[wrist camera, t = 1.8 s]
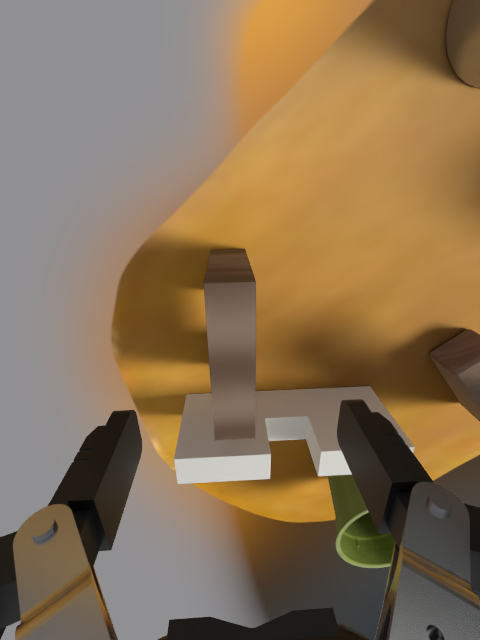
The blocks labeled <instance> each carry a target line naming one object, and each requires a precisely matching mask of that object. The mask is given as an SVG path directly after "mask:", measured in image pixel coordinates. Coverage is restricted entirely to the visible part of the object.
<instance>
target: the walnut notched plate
mask: <svg viewBox="0 0 480 640" xmlns="http://www.w3.org/2000/svg"><path fill="white" fill-rule="evenodd" d="M204 296H205V310H206V324H207V338H208V352H209V366H210V380H211V394H212V408H213V422H214V436H215V440H232V439H252V438H255V387H256V281H255V278H254V275H253V272H252V269H251V266H250V263H249V260H248V257H247V254H246V251H245V249H228V250H211V254H210V258H209V262H208V267H207V271H206V275H205V280H204Z"/></svg>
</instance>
